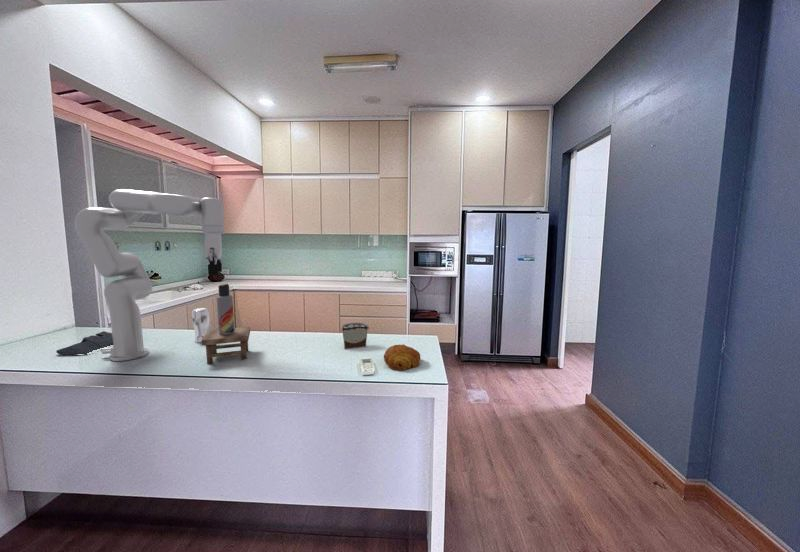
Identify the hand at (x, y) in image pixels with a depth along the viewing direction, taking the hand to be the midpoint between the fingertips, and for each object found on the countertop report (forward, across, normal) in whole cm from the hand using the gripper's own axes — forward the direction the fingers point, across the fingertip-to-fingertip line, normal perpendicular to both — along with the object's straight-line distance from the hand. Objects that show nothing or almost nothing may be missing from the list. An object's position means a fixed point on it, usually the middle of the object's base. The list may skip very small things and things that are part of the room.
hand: (215, 273), depth 134 cm
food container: (+33, +6, +55) cm, 65 cm away
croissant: (+33, +33, +68) cm, 83 cm away
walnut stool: (+34, +3, +4) cm, 34 cm away
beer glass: (+35, -24, -10) cm, 43 cm away
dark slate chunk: (+36, -29, -54) cm, 71 cm away
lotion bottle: (+24, +3, +4) cm, 25 cm away
